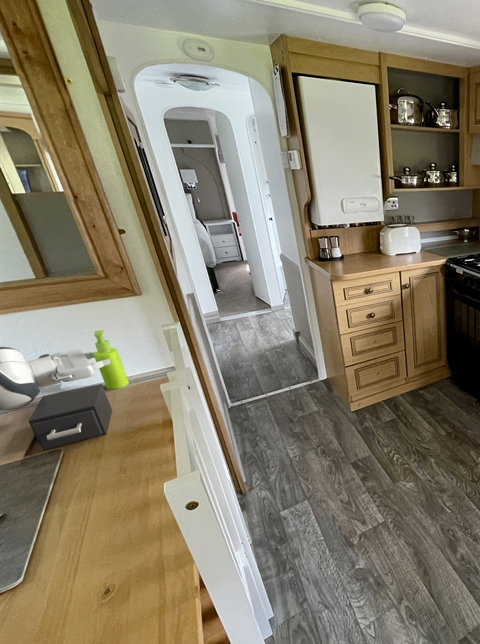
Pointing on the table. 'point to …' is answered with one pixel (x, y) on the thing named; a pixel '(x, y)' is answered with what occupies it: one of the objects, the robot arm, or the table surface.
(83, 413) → the drawer
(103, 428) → the cabinet
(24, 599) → the table surface
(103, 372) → the soap dispenser
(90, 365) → the robot arm
